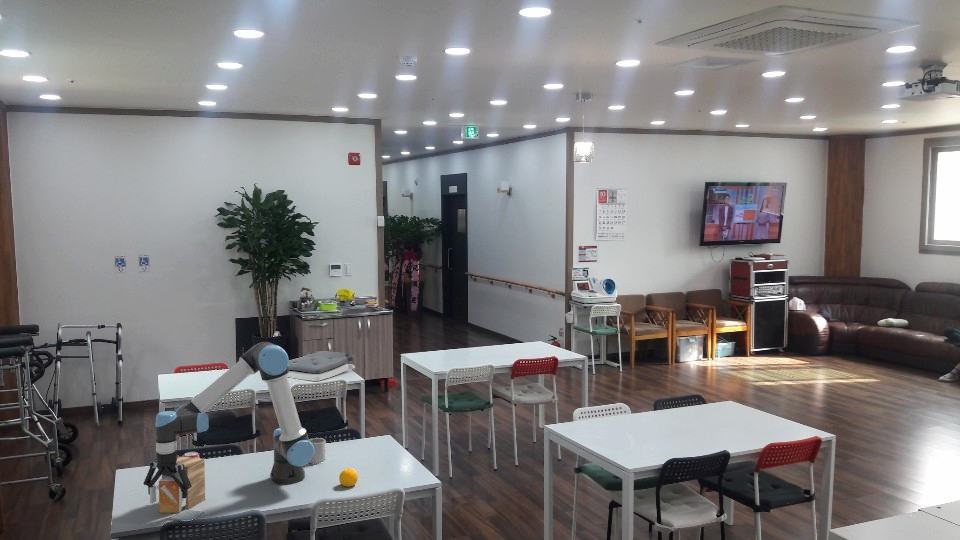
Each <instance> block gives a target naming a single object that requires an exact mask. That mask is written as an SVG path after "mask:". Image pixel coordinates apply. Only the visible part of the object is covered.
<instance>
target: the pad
mask: <svg viewBox="0 0 960 540" xmlns="http://www.w3.org/2000/svg"><path fill="white" fill-rule="evenodd" d="M205 513H206V511H202V510H201V511H200V510H193V509H189V510H187V509H185V508H184V509H182V510H181V512H180V513H176V514H174V515H173V516H171V517H170V518H169V519H170V520H172V521H178V520H192V519H195V520H196V519H198V518H199V517H201V516H203V515H205Z"/></svg>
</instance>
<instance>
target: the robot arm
mask: <svg viewBox="0 0 960 540" xmlns="http://www.w3.org/2000/svg"><path fill="white" fill-rule="evenodd" d="M289 359H290V358H289V356H288V353H287V352H286V351H285V349H284V348H282V347H281V346H279V345H277V344H274V343H272V342H269V341H260V342H258V343H257V344H254V345H253V346H252V347H250V348H249V349H248V350H247V351H246V352H244V353H243V354H242V355H240V356H239V359H238V361H237V362H236V363H235V364H234V365H232V366H231V367H230V368H228V369H227V371H225V372H224V373H223V374H221V376H220V377H218V378H217V379H216V380H214V381H213V382H212V383H210V385H209V386H207V387H206V388H205V389H204V390H202V392H200V393H199V394H197V395H196V396H195V397H194V398H193V399H191V400H190V401H189V402H187V404H184V405H181V406H179V407H177V409H176V410H175V411H173V410H167V411H160V412H158V413H157V414H156V416H155V424H154V425H155V452H156V455H155V456H156V457H155V458H156V461H152V462H151V463H150V464H149V469H148V471H147V473H146V476H145V478H144V481H143V485H144V486H147V490H148V491H147V493H148V495H149V504H150V505H152V504H154V503H156V502H157V489H156V488H157V485H156V483H157V481H159V480H160V479H159V478H160V477H162V475H167V476H169V475H170V476H171V477H172V478H173V479H174V480H175V482H176V483H177V484H178V486H179V487H180V489H181V490H180V507H183V506H185V505H186V497H187V489H189V488H191V487H192V485H191V483H190V481H189V478H188V476H187V474H186V472H185V469H184V464H181V465H177V463H176V461H177V457H178V451H177V449H178V447H177V446H178V445H177V444H178V443H177V441H178V436H182V435H191V434H196V433H202V432H207V431H208V430H209V427H210V425H209V424H210V423H209V415H208V413H206V412H208V411H209V410H210V409H211V408H213V406H215V405H216V404H217V403H218V402H219V401H221V400H222V399H223V398H224V397H226V396H227V395H228V394H229V393H231V392H232V391H233V390H234V389H235V388H236V387H237V386H239V385H240V384H241V383H242V382H244V381H245V380H246V379H248V377H249V376H251V375H255V374H256V373H258V372H259V374H260V377H261V381H262V382H265V383H266V385H267V388H268V392H269V396H270V399H271V401H272V406H273V410H274V412H275V415H276V419H277V423H278V425H279V426H278V428H276V429H274V430H273V437H272V438H273V464H272V468H271V470H270V474H269V480H270V482H271V483H274V484H278V485H287V484H288V483H290V484H294V482H295V483H299V482H301V481H303V480H304V479H305V478H306V472H305V468H304V466H306V465H307V464H310V463H309V462H310V461H311V459H312V457H313V456H314V446H313V444H312V443H311V442H310V441H309V435H308V432H307V429H306V428H305V427H302V423H301V421H300V418H299V414H298V411H297V406H296V403H295V400H294V396H293V394H292V390H291V389H292V388H291V385H290V383H289V379H288V374H290V370H289V364H290V362H289V361H290V360H289ZM156 469H158V470H157V471H156ZM155 471H156V472H155ZM173 473H174V474H173ZM302 479H303V480H302ZM298 481H299V482H298ZM288 485H289V484H288Z"/></svg>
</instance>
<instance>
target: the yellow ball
mask: <svg viewBox="0 0 960 540" xmlns="http://www.w3.org/2000/svg"><path fill="white" fill-rule="evenodd" d="M338 477H339V478H338V480H339V483H340V485H341V486H343V487H348V488H349V487H353V486H355V485H356V484H357V482H358V479H359V476H358V472H357V471H356V470H355V469H354V468H351V467H350V468H349V467H348V468H344V469H342V471H341V472H340V474H339V476H338Z"/></svg>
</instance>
